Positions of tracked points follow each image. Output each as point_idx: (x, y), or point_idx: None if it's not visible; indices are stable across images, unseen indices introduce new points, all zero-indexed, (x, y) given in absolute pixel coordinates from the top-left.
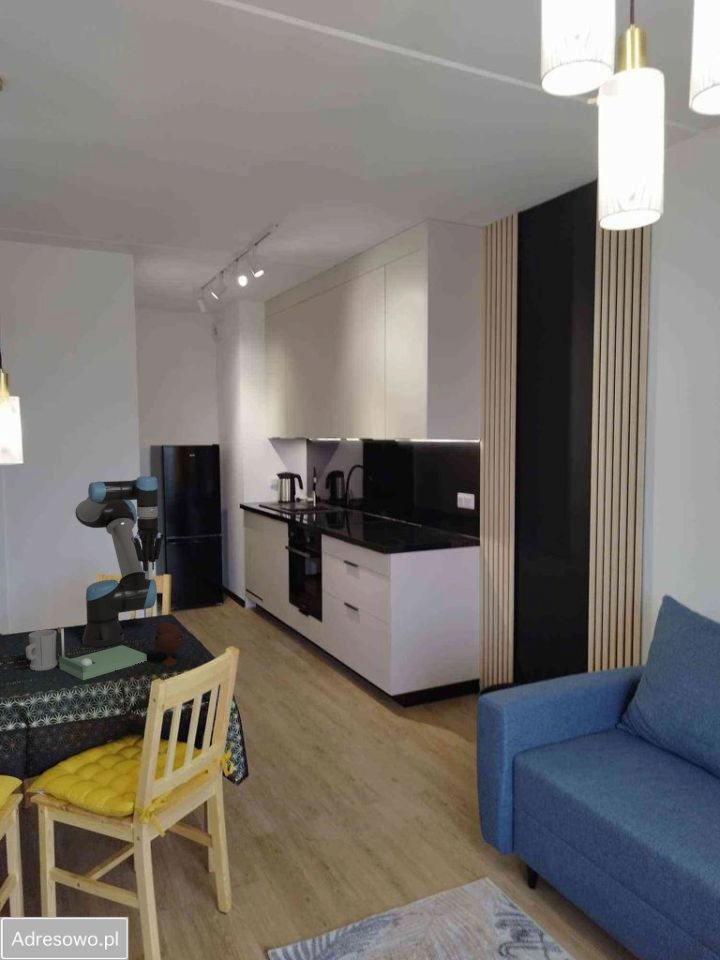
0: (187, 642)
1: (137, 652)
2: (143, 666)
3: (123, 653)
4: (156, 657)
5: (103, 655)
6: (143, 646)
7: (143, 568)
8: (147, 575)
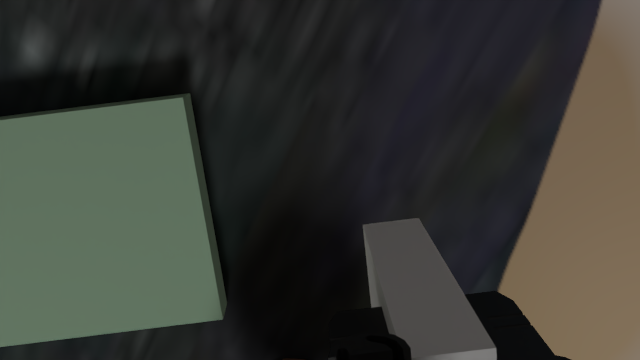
0: (516, 184)
1: (199, 265)
2: (187, 353)
3: (136, 233)
4: (285, 285)
5: (40, 196)
6: (314, 86)
7: (331, 341)
8: (375, 305)
